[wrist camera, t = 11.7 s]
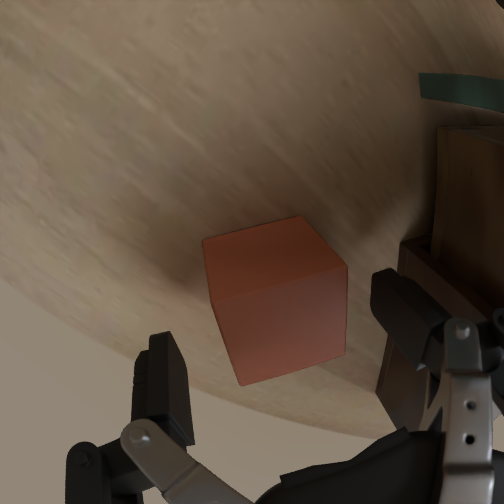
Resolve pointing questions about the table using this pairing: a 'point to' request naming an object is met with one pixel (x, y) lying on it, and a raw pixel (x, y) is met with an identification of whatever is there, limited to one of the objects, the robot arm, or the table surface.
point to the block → (277, 298)
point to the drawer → (470, 186)
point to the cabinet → (395, 363)
